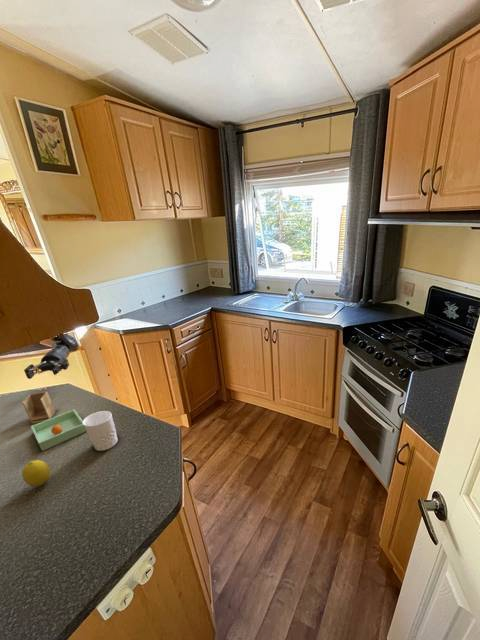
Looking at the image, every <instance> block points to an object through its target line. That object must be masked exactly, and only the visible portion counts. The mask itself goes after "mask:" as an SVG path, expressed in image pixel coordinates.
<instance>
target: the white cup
mask: <svg viewBox="0 0 480 640" xmlns="http://www.w3.org/2000/svg"><path fill="white" fill-rule="evenodd" d="M82 420H83V425H84V427H85V430H86V432H85V433H86V434H87V436H88V438H89V441H90V442H91V443H92V446H93V448H94V450H96V451H98V452H99V451H101V452H103V451H106V450H107V451H108V450H109V449H111V448H113V447H114V446H115V445H116V444H117V443H118V441H119V439H118V435H117V430H116V425H115V423H114V418H113V414H112V412H111V411H109V410H100V411H96V412H93V413H91V414H88V416H86V417H85V418H84V419H82Z"/></svg>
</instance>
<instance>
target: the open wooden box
mask: <svg viewBox="0 0 480 640" xmlns="http://www.w3.org/2000/svg"><path fill="white" fill-rule="evenodd" d="M22 406H23V407H24V410H25V412H26V413H27V416H28V419H29V420H30V422H31V424H32V425H34V424H38V423H41V422H43V421H46V420H48V419H51V418H53V417H54V415H55V413H56V412H57V411H56V409H55V406H54V404H53V401H52V399H51V397H50V395H49V393H48V391H41V392H36V393H35V392H34V393H31V394H28V395H27V396H26V397H25V399H24V400H23V401H22Z"/></svg>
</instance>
